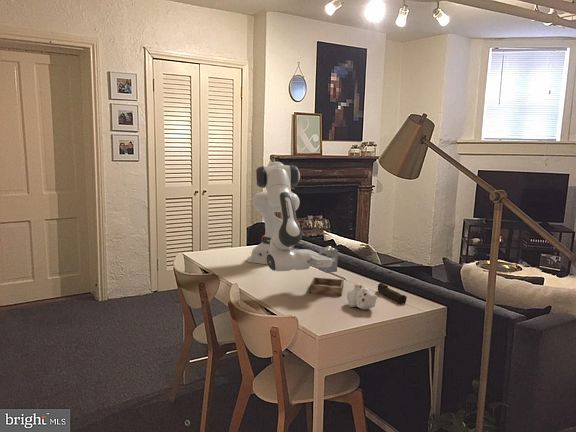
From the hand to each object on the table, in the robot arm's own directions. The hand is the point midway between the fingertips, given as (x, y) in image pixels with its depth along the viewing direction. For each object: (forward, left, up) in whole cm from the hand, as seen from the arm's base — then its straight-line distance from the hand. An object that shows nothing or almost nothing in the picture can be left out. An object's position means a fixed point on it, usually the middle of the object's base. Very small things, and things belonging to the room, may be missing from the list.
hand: (330, 257), depth 216 cm
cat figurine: (+15, -21, -15) cm, 31 cm away
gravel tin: (-1, -1, -6) cm, 6 cm away
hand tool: (+27, -4, -16) cm, 31 cm away
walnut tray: (-1, 0, -15) cm, 15 cm away
